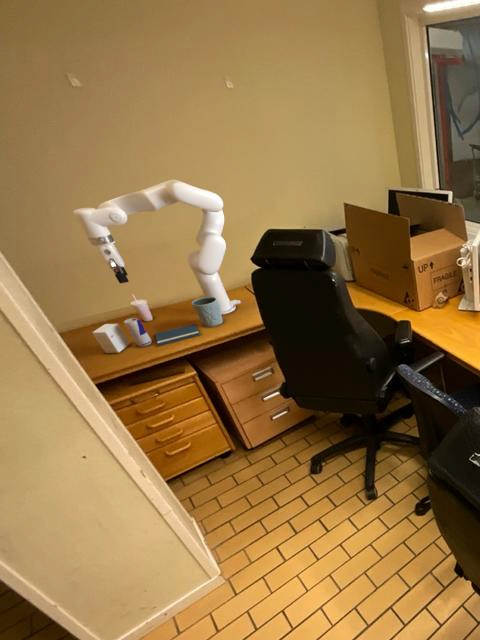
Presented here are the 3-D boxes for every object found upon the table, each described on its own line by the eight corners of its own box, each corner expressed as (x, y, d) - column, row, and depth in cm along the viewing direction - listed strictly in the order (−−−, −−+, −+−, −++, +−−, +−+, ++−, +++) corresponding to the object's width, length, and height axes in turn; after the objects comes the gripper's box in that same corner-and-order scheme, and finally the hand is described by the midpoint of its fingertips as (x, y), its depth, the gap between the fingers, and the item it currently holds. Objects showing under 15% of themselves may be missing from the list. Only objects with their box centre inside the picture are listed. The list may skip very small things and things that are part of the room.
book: (195, 325, 193) (194, 323, 192) (199, 335, 186) (198, 333, 185) (156, 335, 185) (155, 333, 184) (158, 345, 177) (157, 344, 177)
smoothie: (137, 321, 196) (122, 295, 188) (150, 315, 201) (136, 290, 193) (145, 323, 194) (130, 297, 186) (159, 318, 199) (144, 292, 191)
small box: (118, 344, 178) (104, 323, 172) (131, 343, 178) (118, 323, 172) (105, 353, 171) (91, 332, 165) (118, 353, 172) (105, 332, 166)
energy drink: (155, 341, 180) (141, 317, 173) (145, 347, 176) (131, 323, 169) (144, 340, 181) (130, 317, 174) (134, 346, 176) (120, 322, 170)
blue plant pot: (198, 323, 195) (187, 301, 188) (219, 316, 202) (209, 294, 195) (208, 329, 190) (197, 307, 183) (229, 321, 197) (220, 299, 190)
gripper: (113, 243, 159) (135, 283, 169) (112, 233, 170) (133, 271, 180) (89, 246, 155) (113, 287, 165) (90, 236, 166) (112, 275, 176)
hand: (123, 279), depth 173 cm, fingers open, 9 cm apart
